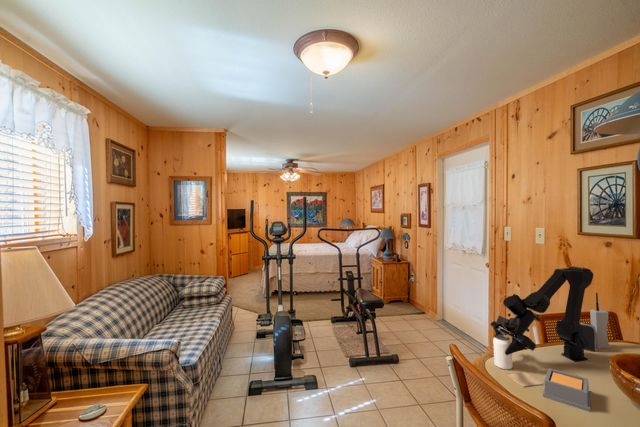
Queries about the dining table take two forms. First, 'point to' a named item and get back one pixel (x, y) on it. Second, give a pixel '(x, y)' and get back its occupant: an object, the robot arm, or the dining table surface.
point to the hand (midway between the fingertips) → (499, 350)
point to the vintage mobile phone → (600, 326)
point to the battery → (589, 335)
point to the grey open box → (567, 391)
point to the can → (502, 352)
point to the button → (567, 381)
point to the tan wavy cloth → (524, 379)
